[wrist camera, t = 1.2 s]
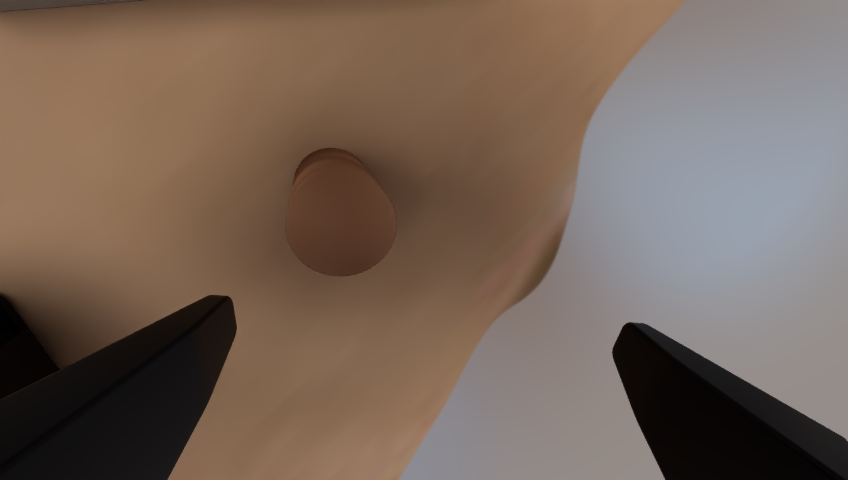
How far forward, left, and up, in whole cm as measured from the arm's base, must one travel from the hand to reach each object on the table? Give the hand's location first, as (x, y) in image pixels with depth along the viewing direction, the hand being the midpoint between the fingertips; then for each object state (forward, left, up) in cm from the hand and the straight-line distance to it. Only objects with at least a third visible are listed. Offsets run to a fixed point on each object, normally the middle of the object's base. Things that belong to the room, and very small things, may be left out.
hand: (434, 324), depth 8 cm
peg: (-1, +1, -13) cm, 13 cm away
